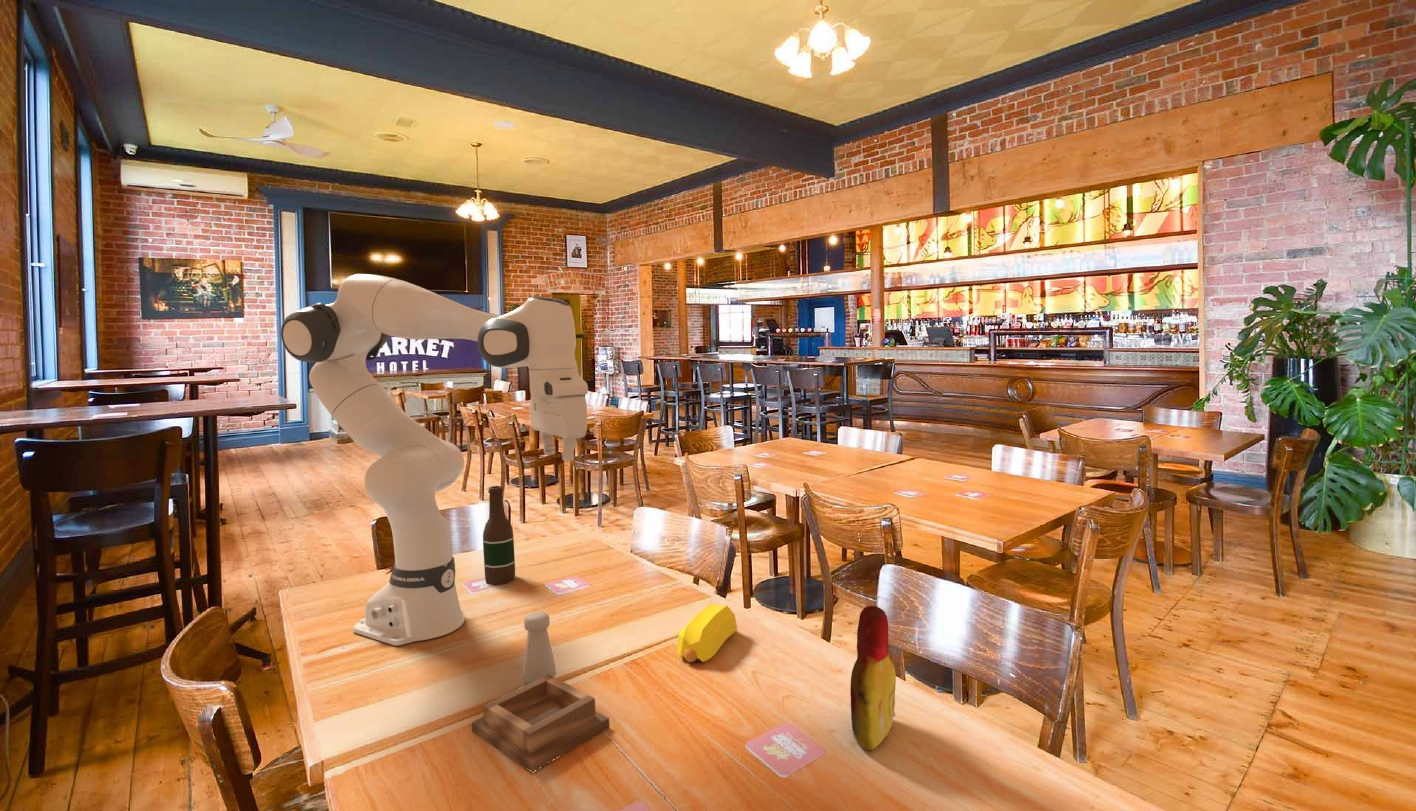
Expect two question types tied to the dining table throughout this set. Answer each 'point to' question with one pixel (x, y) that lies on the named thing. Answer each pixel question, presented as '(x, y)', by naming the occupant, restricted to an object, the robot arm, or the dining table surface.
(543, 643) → the salt shaker
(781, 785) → the dining table surface
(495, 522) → the beer bottle
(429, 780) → the dining table surface
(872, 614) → the bottle
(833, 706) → the dining table surface
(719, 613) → the yellow faceted rounded part
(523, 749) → the board
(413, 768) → the dining table surface
